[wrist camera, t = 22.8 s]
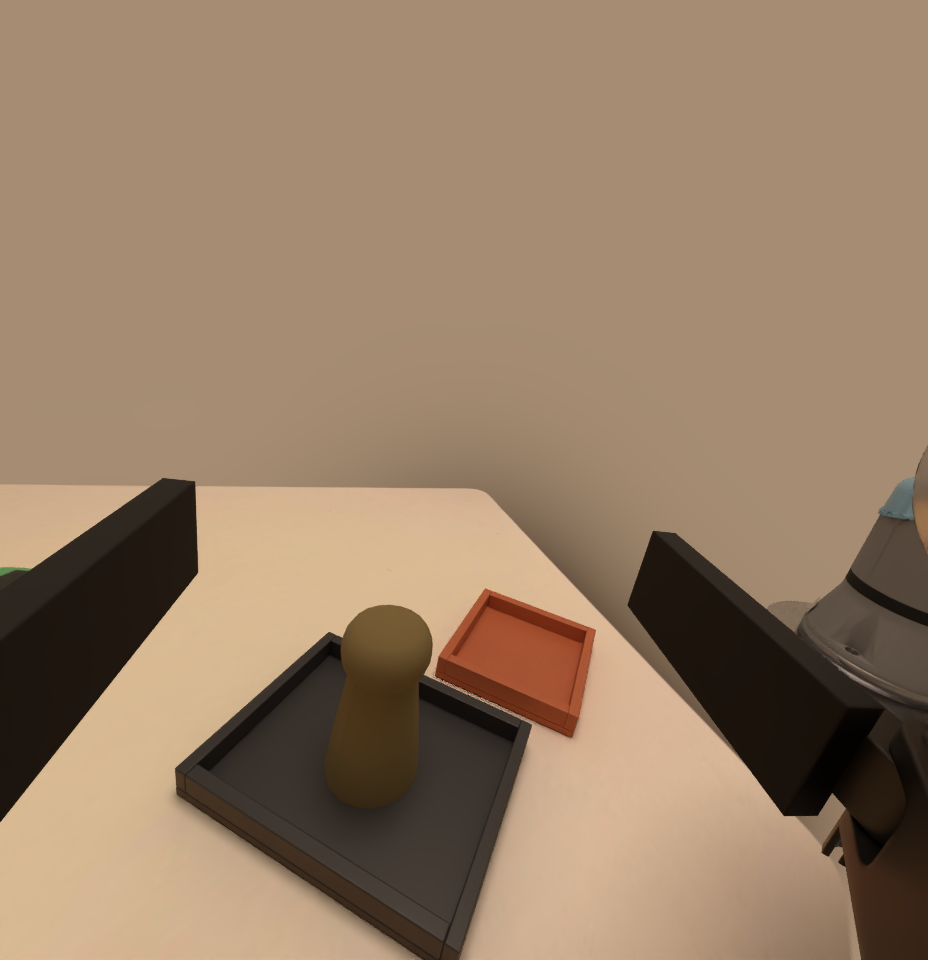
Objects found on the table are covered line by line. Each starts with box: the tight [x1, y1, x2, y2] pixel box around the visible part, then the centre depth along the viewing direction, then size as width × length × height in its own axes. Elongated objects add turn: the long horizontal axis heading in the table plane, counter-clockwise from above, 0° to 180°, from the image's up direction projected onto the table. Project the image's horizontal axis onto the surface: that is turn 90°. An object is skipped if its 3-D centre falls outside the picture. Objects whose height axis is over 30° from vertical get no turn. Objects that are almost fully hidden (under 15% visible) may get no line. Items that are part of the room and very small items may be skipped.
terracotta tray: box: [435, 589, 596, 737], centre depth 41 cm, size 12×12×2 cm
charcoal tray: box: [175, 632, 532, 960], centre depth 29 cm, size 18×14×2 cm
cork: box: [324, 605, 433, 809], centre depth 27 cm, size 6×6×11 cm
